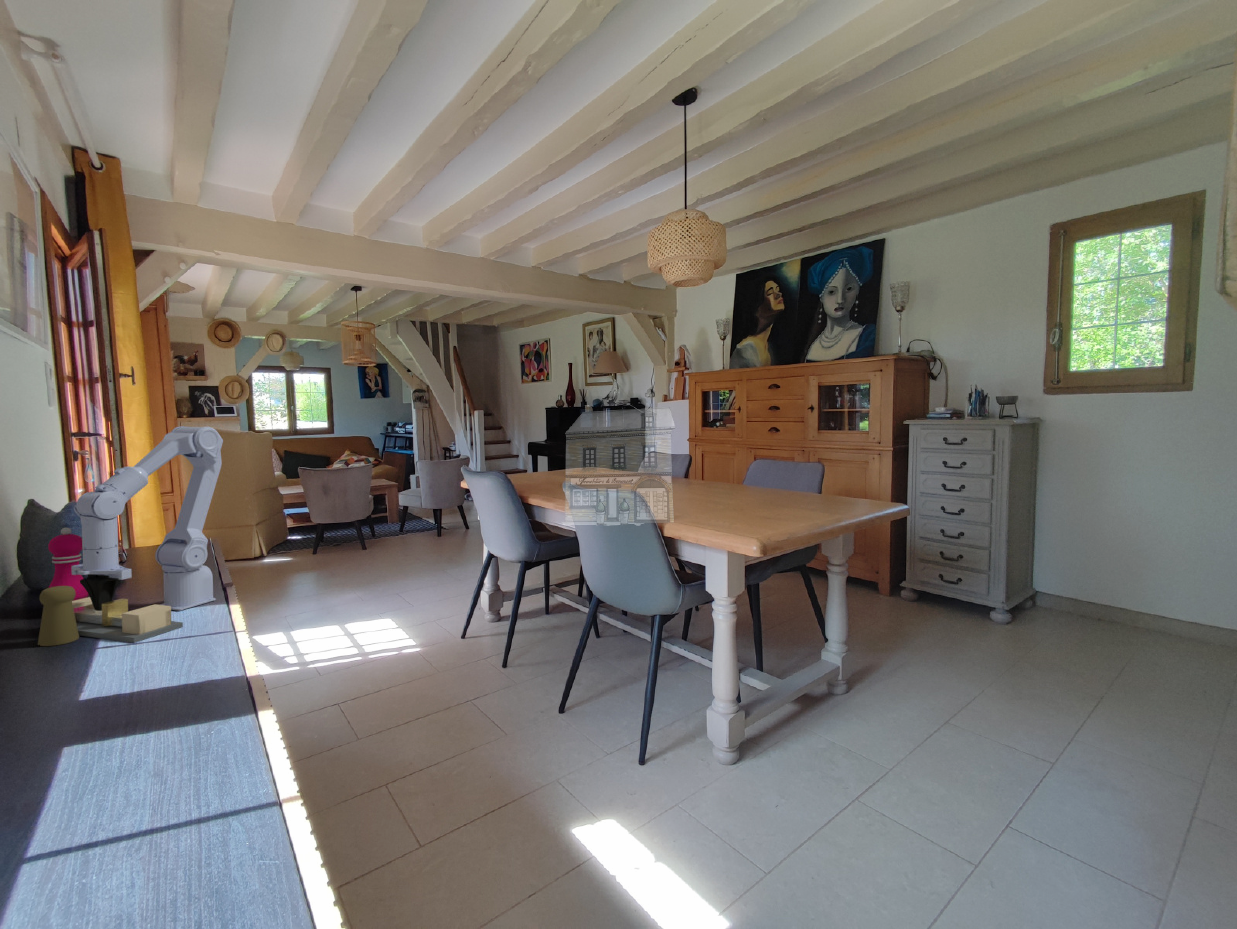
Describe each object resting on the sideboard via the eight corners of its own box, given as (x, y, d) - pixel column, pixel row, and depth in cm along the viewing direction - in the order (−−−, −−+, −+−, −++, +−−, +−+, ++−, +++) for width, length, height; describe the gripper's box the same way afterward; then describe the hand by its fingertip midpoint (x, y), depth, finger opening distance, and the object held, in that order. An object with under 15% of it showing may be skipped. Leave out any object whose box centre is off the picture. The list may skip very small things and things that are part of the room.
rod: (83, 614, 128) (83, 594, 128) (142, 622, 124) (141, 600, 124) (62, 620, 124) (62, 599, 124) (121, 628, 120) (121, 606, 120)
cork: (39, 648, 112) (37, 592, 111) (36, 641, 115) (34, 587, 115) (81, 640, 116) (80, 587, 116) (77, 633, 120) (76, 581, 120)
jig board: (97, 616, 131) (96, 594, 131) (182, 626, 125) (182, 604, 125) (44, 630, 122) (43, 607, 121) (134, 642, 116) (133, 618, 115)
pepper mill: (63, 618, 129) (60, 530, 128) (38, 616, 131) (35, 529, 130) (97, 609, 136) (95, 526, 135) (74, 607, 138) (71, 524, 137)
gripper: (53, 548, 121) (56, 611, 122) (104, 553, 118) (106, 618, 118) (91, 542, 128) (93, 602, 129) (141, 546, 125) (142, 608, 125)
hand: (102, 609), depth 124 cm, fingers closed
